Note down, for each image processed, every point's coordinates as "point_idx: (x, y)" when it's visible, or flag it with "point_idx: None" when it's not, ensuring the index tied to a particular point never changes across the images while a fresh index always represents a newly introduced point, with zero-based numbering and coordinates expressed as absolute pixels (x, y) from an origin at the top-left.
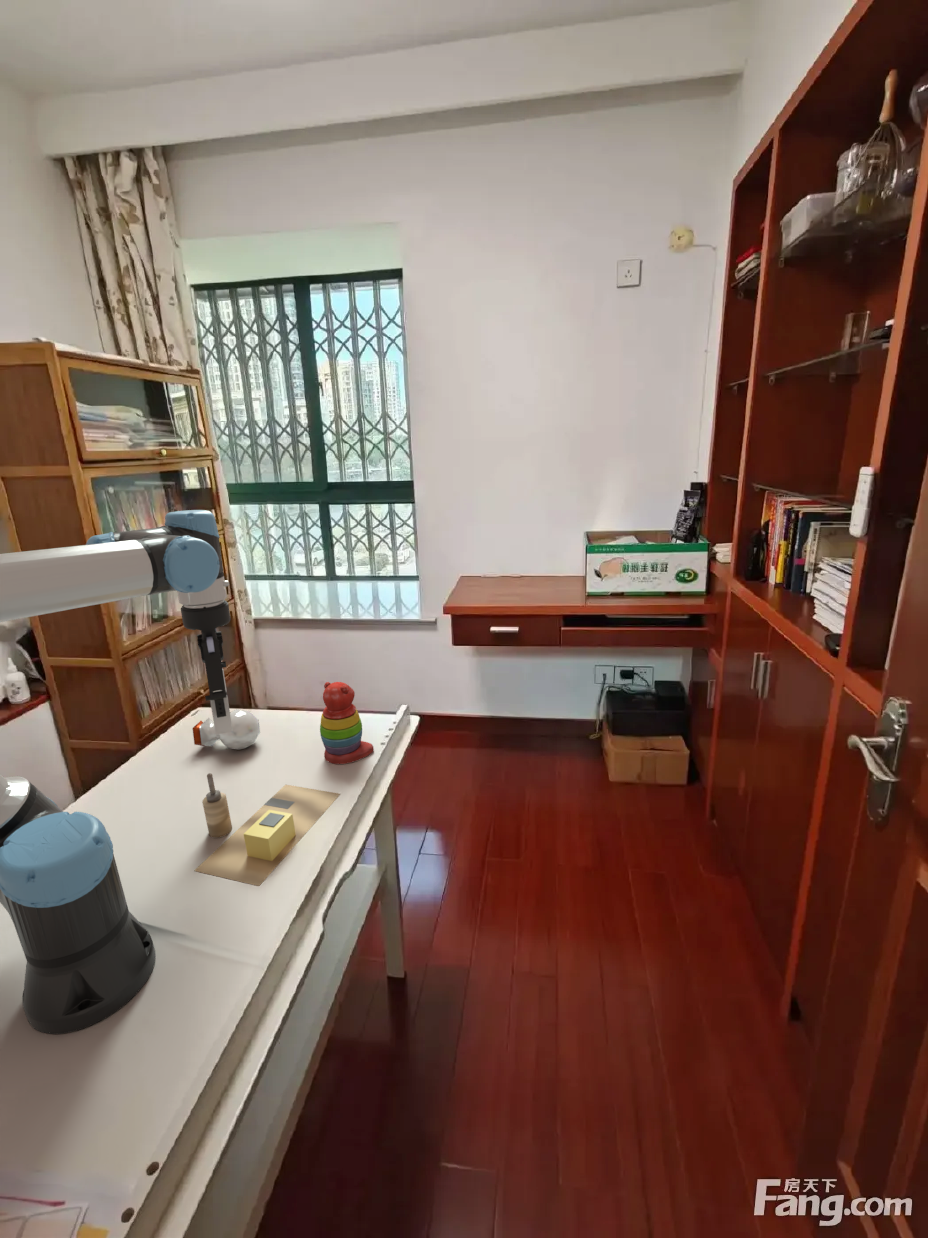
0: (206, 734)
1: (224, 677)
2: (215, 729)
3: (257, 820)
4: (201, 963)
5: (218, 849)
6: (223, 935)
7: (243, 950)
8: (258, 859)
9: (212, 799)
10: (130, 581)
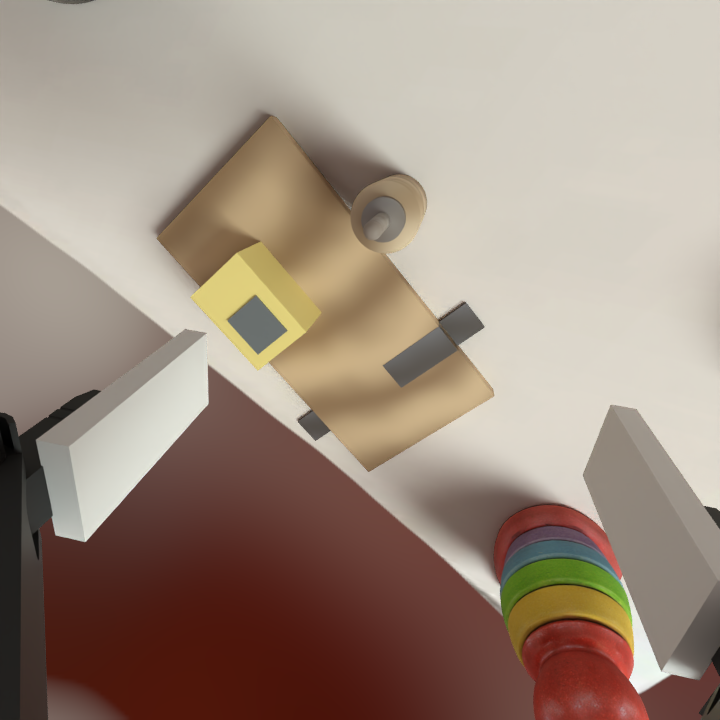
0: None
1: (636, 608)
2: (171, 342)
3: (274, 296)
4: (31, 94)
5: (320, 185)
6: (82, 145)
7: (37, 172)
8: None
9: (362, 212)
10: None
